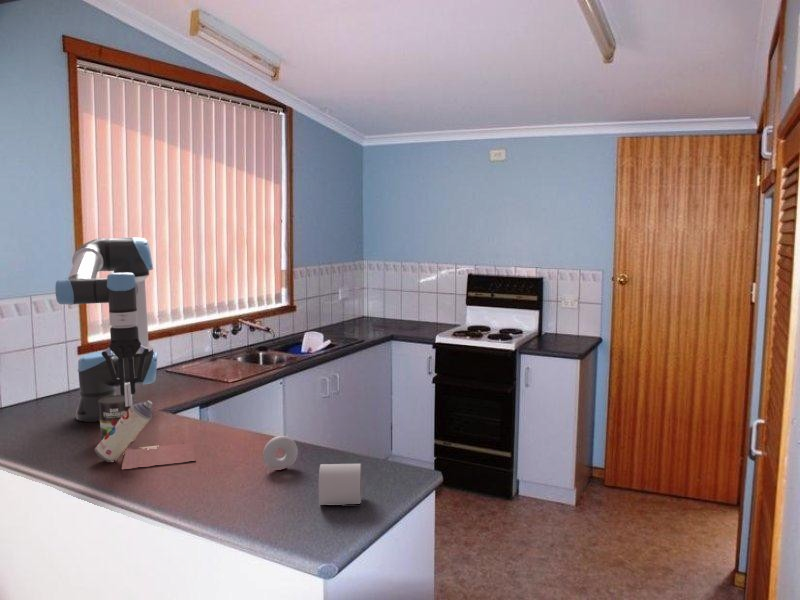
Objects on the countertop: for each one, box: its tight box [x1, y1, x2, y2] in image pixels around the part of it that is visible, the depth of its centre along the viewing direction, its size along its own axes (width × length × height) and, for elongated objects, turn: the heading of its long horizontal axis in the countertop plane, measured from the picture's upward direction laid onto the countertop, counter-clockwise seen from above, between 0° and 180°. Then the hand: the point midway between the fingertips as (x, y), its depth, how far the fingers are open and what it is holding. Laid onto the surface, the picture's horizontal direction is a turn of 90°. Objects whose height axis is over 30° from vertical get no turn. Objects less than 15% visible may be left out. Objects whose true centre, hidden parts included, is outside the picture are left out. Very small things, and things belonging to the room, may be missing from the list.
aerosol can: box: [94, 400, 153, 463], centre depth 193 cm, size 7×7×20 cm
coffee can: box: [98, 394, 134, 442], centre depth 210 cm, size 10×10×14 cm
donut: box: [262, 435, 299, 468], centre depth 185 cm, size 10×4×10 cm, turn 116°
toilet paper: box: [318, 463, 362, 506], centre depth 163 cm, size 10×10×10 cm
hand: (128, 405), depth 192 cm, fingers closed
